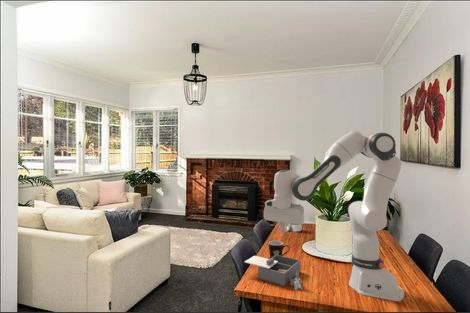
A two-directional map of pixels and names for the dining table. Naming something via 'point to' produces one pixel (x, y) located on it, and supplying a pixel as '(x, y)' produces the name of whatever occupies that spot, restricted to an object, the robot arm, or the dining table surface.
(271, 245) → the coffee mug
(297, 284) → the house of cards
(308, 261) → the dining table surface
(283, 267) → the box
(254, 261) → the sliding lid
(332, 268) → the dining table surface
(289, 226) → the spread jar
